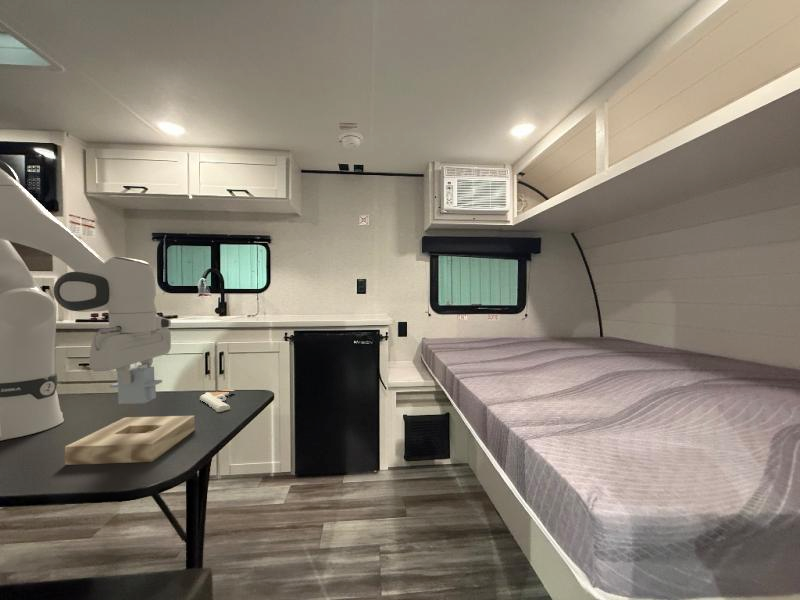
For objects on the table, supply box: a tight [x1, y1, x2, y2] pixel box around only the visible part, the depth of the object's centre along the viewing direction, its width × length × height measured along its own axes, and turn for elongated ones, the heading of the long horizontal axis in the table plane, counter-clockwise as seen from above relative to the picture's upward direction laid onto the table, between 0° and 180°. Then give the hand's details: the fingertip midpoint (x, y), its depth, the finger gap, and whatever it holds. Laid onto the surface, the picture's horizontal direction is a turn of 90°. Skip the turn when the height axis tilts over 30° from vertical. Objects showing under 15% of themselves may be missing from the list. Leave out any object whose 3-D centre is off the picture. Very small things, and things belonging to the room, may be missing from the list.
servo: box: [109, 364, 163, 405], centre depth 75 cm, size 10×3×9 cm, turn 94°
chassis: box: [64, 415, 196, 466], centre depth 75 cm, size 18×16×4 cm
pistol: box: [199, 388, 235, 413], centre depth 107 cm, size 2×20×11 cm
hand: (136, 380), depth 75 cm, fingers closed on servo, 3 cm apart
